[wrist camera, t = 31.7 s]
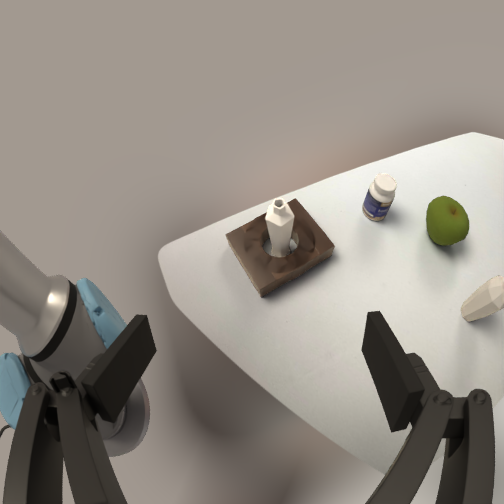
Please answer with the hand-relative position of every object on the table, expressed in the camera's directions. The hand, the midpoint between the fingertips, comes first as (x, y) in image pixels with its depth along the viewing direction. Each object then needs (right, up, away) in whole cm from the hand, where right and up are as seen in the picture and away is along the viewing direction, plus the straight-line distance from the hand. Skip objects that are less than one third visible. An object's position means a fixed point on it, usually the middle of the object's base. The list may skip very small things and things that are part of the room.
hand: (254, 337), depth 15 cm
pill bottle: (+27, +14, +41) cm, 51 cm away
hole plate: (+5, +5, +39) cm, 40 cm away
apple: (+42, +9, +37) cm, 56 cm away
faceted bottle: (+45, -8, +28) cm, 54 cm away
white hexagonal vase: (+5, +5, +39) cm, 40 cm away
